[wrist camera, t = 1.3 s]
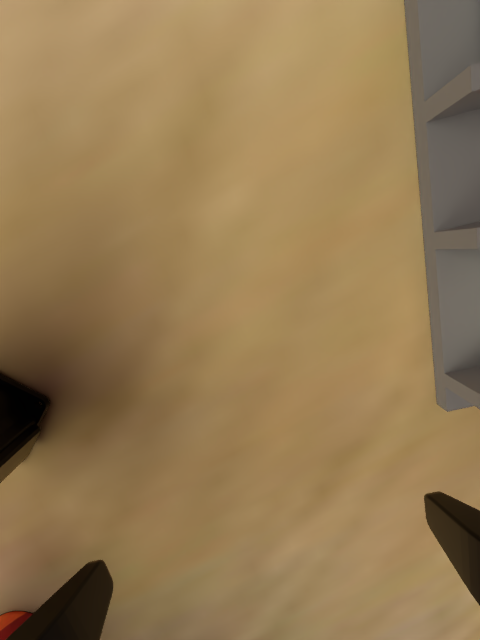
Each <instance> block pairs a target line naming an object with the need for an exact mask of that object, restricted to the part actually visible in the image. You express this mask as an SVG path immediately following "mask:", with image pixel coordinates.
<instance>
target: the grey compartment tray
mask: <svg viewBox="0 0 480 640" xmlns="http://www.w3.org/2000/svg"><path fill="white" fill-rule="evenodd" d="M404 4H405V17H406V29H407V41H408V54H409V66H410V78H411V91H412V103H413V115H414V128H415V140H416V152H417V165H418V177H419V189H420V201H421V214H422V226H423V238H424V251H425V263H426V275H427V288H428V300H429V312H430V325H431V337H432V349H433V361H434V374H435V386H436V398H437V404H438V405H439V406H440V407H442V408H443V409H444V410H446V411H447V412H448V411H452V410H457V409H462V408H466V407H471V406H475V407H477V408H478V409H480V0H404Z"/></svg>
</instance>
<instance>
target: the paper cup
mask: <svg viewBox="0 0 480 640" xmlns="http://www.w3.org/2000/svg"><path fill="white" fill-rule="evenodd" d="M31 615H32V613H29V612H23V611H13V612H8V613H5V614H2V615H1V616H0V640H6V639H7V638H8V637H9V636H10V635H11V634H12V633H13V632H14V631H15V630H16V629H17V628H18V627H19V626H20V625H22V624H23V623H24V622H25V621H26V620H27V619H28V618H29V617H30V616H31Z"/></svg>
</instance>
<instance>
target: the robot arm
mask: <svg viewBox="0 0 480 640" xmlns="http://www.w3.org/2000/svg"><path fill="white" fill-rule="evenodd" d="M39 402H41V403H42V405H41V404H39ZM49 404H50V402H49V399H48V398H47V397H45V396H44V395H42V394H40V393H38V392H35V391H33V390H31V389H29V388H27V387H25V386H23V385H21V384H19V383H17V382H15V381H13V380H11V379H9V378H7V377H5V376H3V375H1V374H0V483H1V482H2V481H3V480H4V479H5V478H6V477H7V476H8V475H9V474H10V473H11V472H12V471H13V470H14V469H15V468H16V467H17V466H18V465H19V464H20V463H21V462H22V461H23V460H24V459H25V458H26V457H27V456H28V455H29V453H30V451H31V449H32V447H33V445H34V443H35V442H36V440H37V438H38V436H39V434H40V432H41V428H40V426H39V424H40V422H41V420H42V418H43V416H44V414H45V412H46V410H47V408H48V407H49ZM424 501H425V512H426V519H427V522H428V525H429V527H430V529H431V531H432V532H433V534H434V536H435V537H436V539H437V540H438V542H439V544H440V545H441V547H442V548H443V550H444V552H445V553H446V555H447V556H448V558H449V560H450V561H451V563H452V564H453V566H454V568H455V569H456V571H457V572H458V574H459V575H460V577H461V579H462V580H463V582H464V583H465V585H466V586H467V588H468V590H469V591H470V593H471V594H472V595H473V597H474V598H475V600H476V601H477V602H478V604H479V605H480V511H479V510H477V509H475V508H473V507H471V506H469V505H467V504H465V503H463V502H461V501H459V500H457V499H455V498H453V497H451V496H449V495H446V494H444V493H442V492H433V493H428V494H425V496H424ZM112 592H113V580H112V577H111V575H110V573H109V571H108V569H107V566H106V564H105V562H104V561H103V560H97V561H92V562H89V563H87V564H86V565H85V566H84V567H83V568H81V569H80V570H79V571H78V572H77V573H76V574H75V575H74V576H73V577H72V578H71V579H70V580H69V581H68V582H67V583H65V584H64V585H63V586H62V587H61V588H60V589H59V590H58V591H57V592H56V593H55V594H54V595H53V596H52V597H50V598H49V599H48V600H47V601H46V602H45V603H44V604H43V605H42V606H41V607H40V608H39V609H38V610H37V611H35V612H34V613H33V614H32V615H31V616H30V617H29V618H28V619H27V620H26V621H25V622H24V623H23V624H22V625H20V626H19V627H18V628H17V629H16V630H15V631H14V632H13V633H12V634H11V635H10V636H9V637H8V638H7V639H6V640H100V636H101V633H102V629H103V625H104V622H105V618H106V615H107V611H108V607H109V604H110V600H111V597H112Z"/></svg>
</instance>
